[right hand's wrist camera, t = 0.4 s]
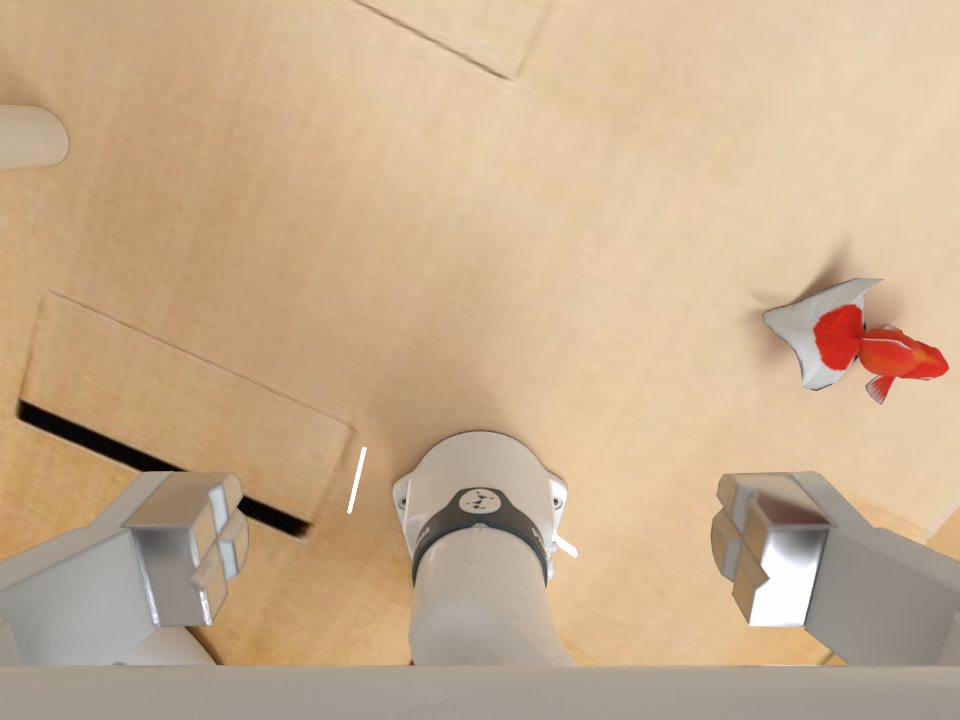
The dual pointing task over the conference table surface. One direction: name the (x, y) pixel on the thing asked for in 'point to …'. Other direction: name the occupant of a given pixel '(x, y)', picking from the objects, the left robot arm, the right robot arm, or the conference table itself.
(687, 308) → the conference table surface
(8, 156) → the jar
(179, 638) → the white slotted rounded device
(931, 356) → the fish
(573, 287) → the conference table surface
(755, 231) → the conference table surface
